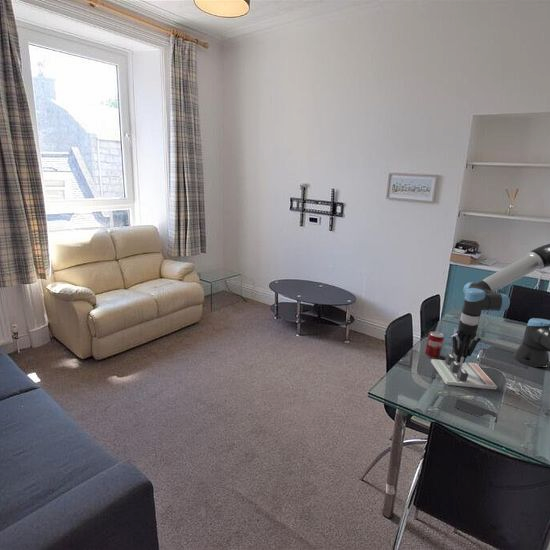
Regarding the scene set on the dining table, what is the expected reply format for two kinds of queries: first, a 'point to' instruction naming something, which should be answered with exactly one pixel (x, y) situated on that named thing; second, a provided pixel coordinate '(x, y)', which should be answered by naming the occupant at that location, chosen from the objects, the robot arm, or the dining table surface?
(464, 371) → the block
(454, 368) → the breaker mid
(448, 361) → the block
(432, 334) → the soda can
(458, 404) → the smartphone
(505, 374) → the dining table surface
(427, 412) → the dining table surface
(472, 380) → the panel
